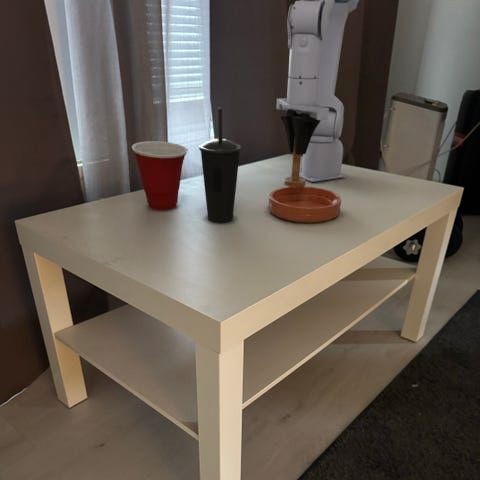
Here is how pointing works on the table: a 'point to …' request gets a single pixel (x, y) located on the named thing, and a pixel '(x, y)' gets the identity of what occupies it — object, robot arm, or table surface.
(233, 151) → the drinking cup
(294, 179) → the stirring stick
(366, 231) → the table surface
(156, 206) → the plastic cup
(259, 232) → the table surface
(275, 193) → the bowl
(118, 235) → the table surface
